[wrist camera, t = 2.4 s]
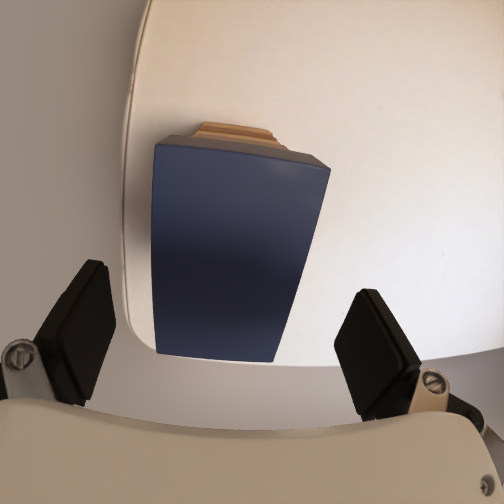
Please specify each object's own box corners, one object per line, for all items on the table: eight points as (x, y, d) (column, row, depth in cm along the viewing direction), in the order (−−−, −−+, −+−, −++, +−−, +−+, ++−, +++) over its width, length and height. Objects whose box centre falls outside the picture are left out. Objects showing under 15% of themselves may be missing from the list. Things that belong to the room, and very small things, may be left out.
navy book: (267, 329, 16) (273, 363, 14) (163, 320, 15) (156, 354, 13) (312, 154, 12) (332, 168, 9) (169, 134, 11) (154, 144, 8)
